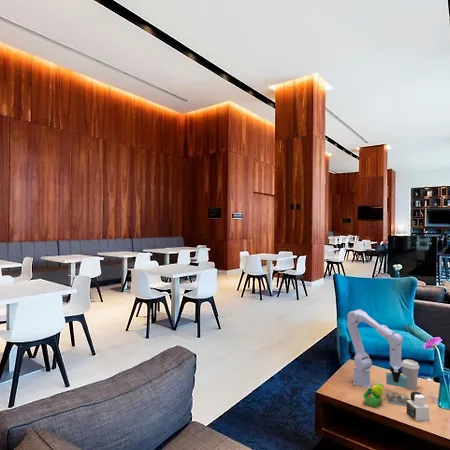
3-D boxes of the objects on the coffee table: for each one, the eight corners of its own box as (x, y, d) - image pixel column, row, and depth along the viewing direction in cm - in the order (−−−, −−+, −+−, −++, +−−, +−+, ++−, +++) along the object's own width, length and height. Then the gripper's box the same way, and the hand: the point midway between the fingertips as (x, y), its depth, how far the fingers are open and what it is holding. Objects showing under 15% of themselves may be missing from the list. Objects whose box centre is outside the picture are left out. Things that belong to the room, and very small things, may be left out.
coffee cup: (422, 392, 192) (422, 366, 192) (404, 390, 194) (404, 365, 194) (415, 384, 202) (416, 359, 201) (398, 382, 203) (398, 358, 203)
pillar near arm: (388, 400, 182) (388, 394, 182) (389, 397, 186) (389, 391, 186) (397, 402, 180) (397, 396, 180) (397, 398, 184) (397, 393, 184)
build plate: (386, 403, 180) (386, 402, 180) (387, 395, 189) (387, 394, 189) (412, 408, 175) (412, 407, 175) (411, 400, 184) (411, 399, 184)
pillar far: (401, 402, 180) (401, 397, 180) (401, 399, 183) (401, 394, 183) (409, 404, 178) (409, 399, 178) (409, 401, 181) (409, 395, 181)
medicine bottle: (406, 414, 170) (406, 390, 170) (419, 413, 170) (419, 389, 171) (415, 422, 163) (415, 397, 163) (429, 421, 163) (429, 396, 163)
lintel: (386, 384, 187) (386, 375, 187) (386, 381, 190) (386, 372, 190) (406, 387, 182) (406, 378, 182) (406, 384, 186) (406, 375, 186)
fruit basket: (368, 396, 187) (368, 376, 187) (385, 401, 182) (385, 381, 182) (362, 405, 178) (362, 384, 178) (380, 411, 173) (380, 389, 173)
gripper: (404, 361, 178) (404, 387, 178) (403, 352, 191) (403, 376, 191) (389, 359, 181) (389, 384, 181) (389, 350, 194) (389, 374, 194)
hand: (395, 380), depth 186 cm, fingers closed on lintel, 4 cm apart
